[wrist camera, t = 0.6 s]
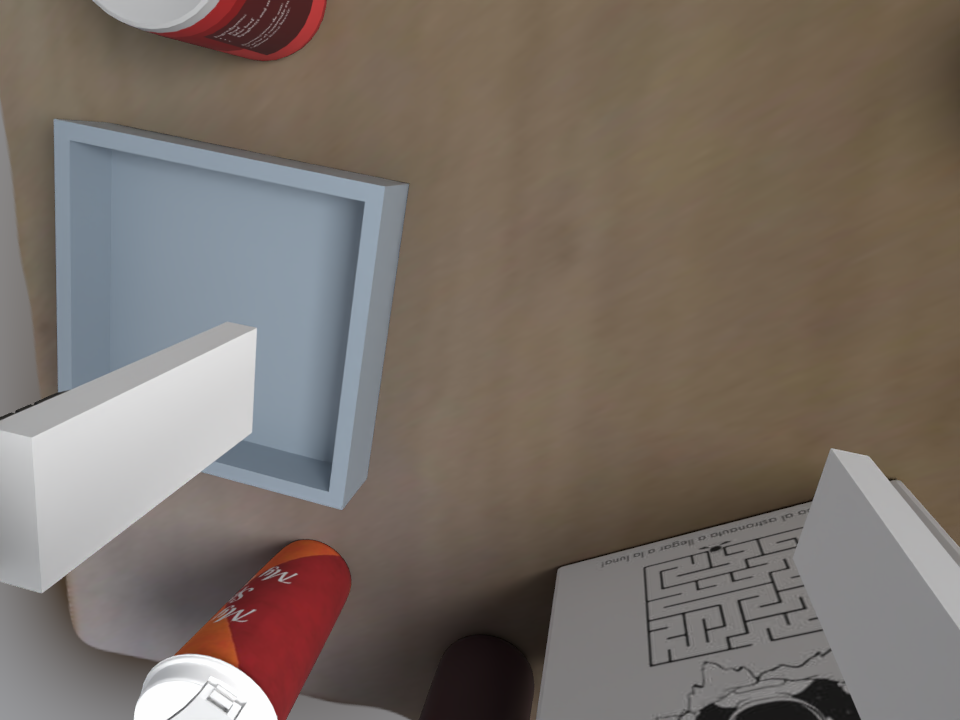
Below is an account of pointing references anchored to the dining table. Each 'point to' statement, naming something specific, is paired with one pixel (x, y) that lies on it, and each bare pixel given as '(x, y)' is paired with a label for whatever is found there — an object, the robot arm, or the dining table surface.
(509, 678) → the wine bottle
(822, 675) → the cereal box
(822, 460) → the dining table surface
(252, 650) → the coffee cup
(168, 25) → the canned food
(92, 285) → the bin
